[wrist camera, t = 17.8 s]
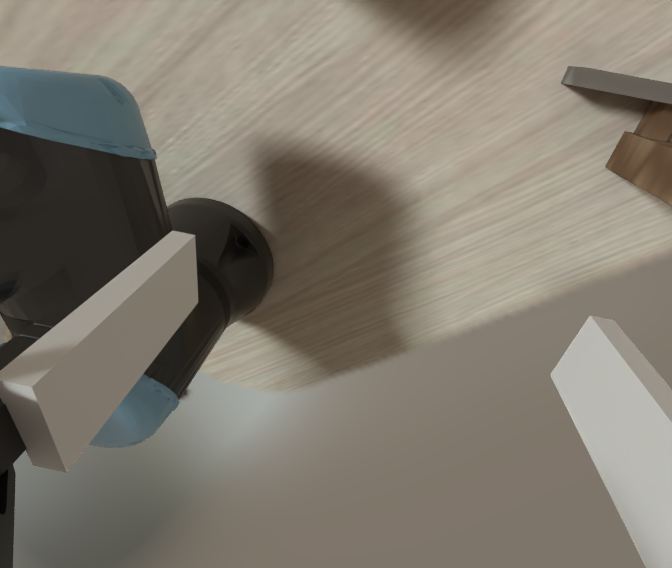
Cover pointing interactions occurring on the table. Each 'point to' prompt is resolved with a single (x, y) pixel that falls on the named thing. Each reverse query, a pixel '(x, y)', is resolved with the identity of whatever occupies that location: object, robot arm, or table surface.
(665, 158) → the scraper
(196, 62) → the table surface
